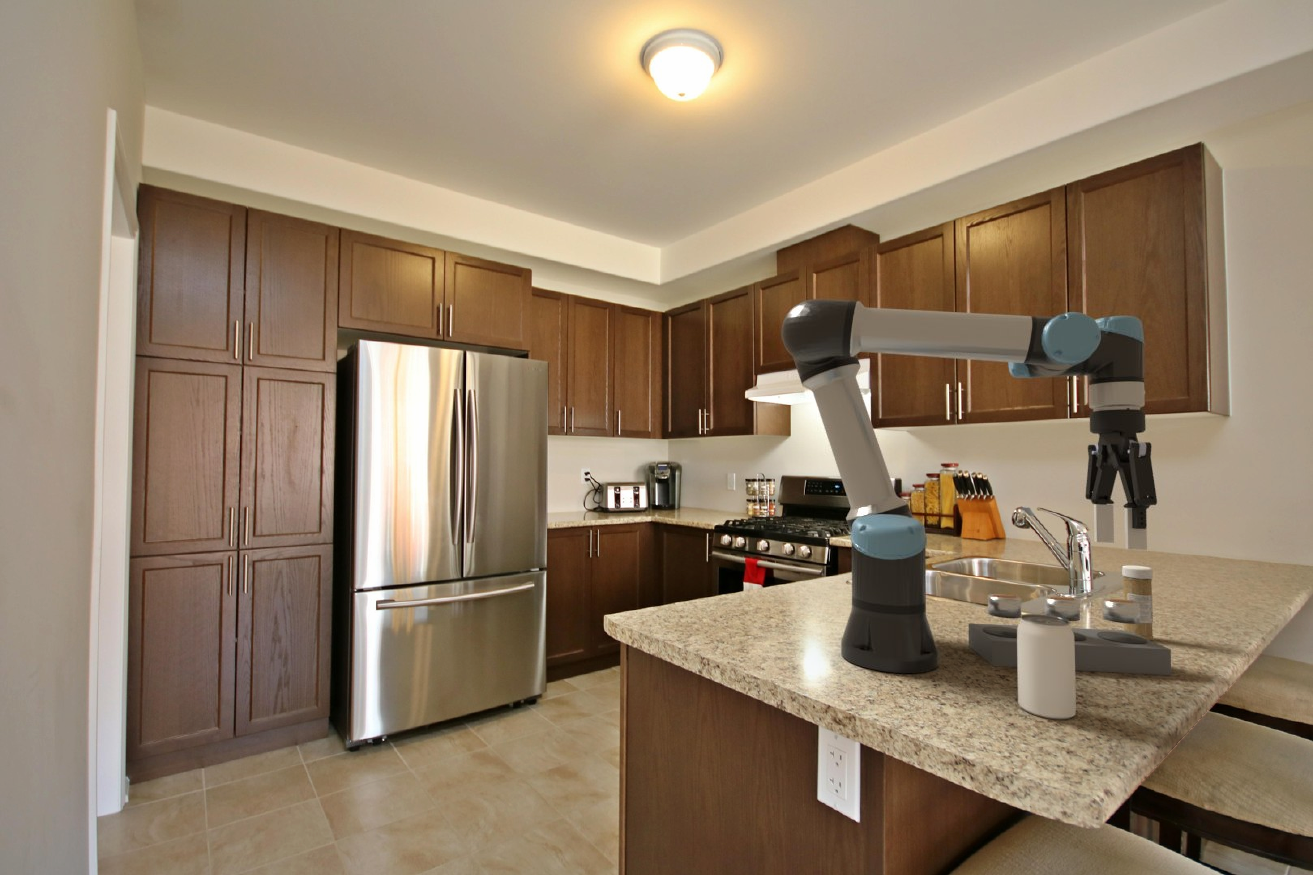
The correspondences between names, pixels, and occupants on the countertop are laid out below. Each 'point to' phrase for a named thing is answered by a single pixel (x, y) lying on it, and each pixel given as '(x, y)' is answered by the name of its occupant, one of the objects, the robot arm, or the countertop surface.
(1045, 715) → the can
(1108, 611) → the knob
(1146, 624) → the sprinkles bottle
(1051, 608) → the knob middle
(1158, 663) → the grey tray
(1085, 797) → the countertop surface
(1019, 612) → the knob
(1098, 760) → the countertop surface
